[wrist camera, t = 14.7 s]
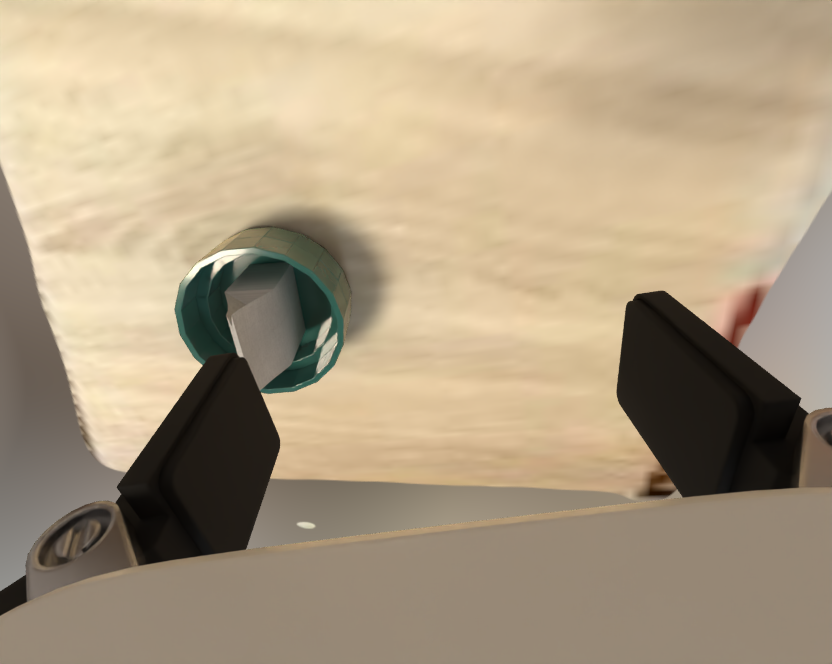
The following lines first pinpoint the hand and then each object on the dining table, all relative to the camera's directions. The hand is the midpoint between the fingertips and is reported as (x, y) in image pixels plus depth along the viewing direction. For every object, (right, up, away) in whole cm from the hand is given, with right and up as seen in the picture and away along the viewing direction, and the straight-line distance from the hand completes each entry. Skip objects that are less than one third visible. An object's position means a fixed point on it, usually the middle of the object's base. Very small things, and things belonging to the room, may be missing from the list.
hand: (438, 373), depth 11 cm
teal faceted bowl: (-13, +4, +28) cm, 32 cm away
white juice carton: (-13, +4, +28) cm, 31 cm away
